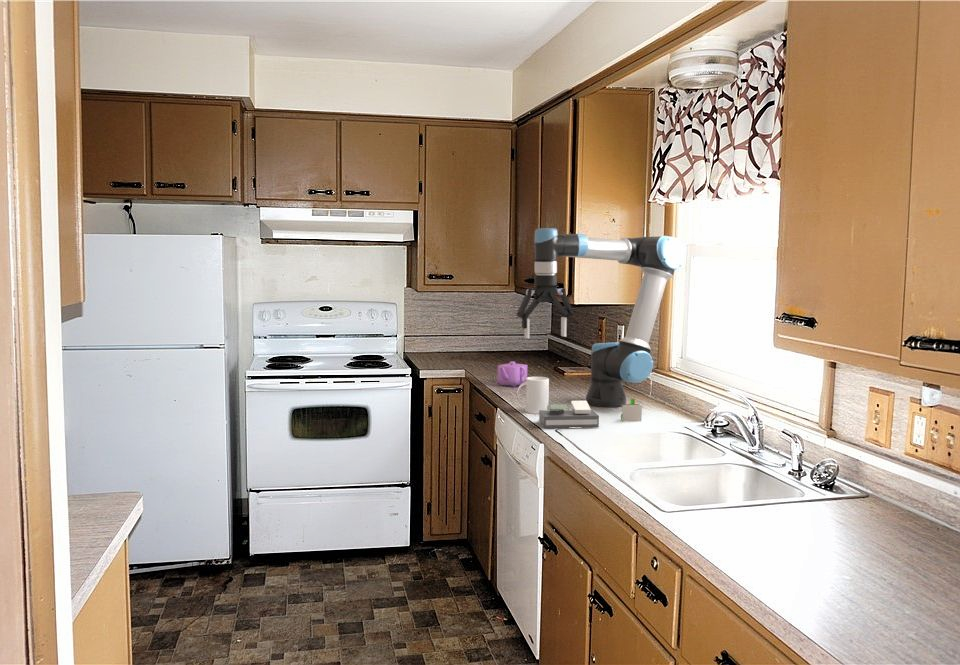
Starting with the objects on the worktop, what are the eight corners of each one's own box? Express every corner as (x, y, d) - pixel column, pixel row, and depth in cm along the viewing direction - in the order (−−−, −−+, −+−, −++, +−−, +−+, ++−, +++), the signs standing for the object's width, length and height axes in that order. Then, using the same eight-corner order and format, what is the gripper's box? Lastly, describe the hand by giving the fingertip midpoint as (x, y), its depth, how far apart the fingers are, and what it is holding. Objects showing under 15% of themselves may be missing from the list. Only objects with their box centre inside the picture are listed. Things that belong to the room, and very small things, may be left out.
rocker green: (562, 409, 271) (562, 405, 271) (566, 408, 264) (566, 404, 264) (547, 409, 271) (547, 405, 271) (550, 408, 264) (550, 404, 264)
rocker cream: (586, 404, 272) (586, 400, 271) (590, 413, 265) (590, 409, 265) (570, 404, 271) (571, 400, 271) (575, 413, 265) (575, 409, 264)
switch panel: (591, 421, 274) (591, 406, 274) (598, 427, 264) (599, 413, 264) (539, 421, 272) (539, 407, 272) (544, 428, 262) (544, 413, 262)
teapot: (512, 390, 331) (512, 365, 330) (484, 386, 339) (484, 362, 338) (535, 384, 346) (535, 360, 345) (508, 380, 354) (508, 357, 353)
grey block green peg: (618, 420, 278) (618, 397, 277) (636, 419, 279) (637, 396, 278) (622, 423, 274) (623, 399, 273) (641, 422, 275) (642, 399, 274)
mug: (518, 414, 285) (518, 380, 283) (514, 409, 293) (515, 376, 292) (551, 413, 286) (551, 380, 284) (546, 408, 294) (547, 376, 293)
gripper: (574, 273, 279) (573, 334, 282) (507, 274, 271) (507, 337, 274) (584, 274, 272) (583, 336, 275) (515, 275, 264) (515, 340, 267)
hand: (545, 337), depth 274 cm, fingers open, 13 cm apart
